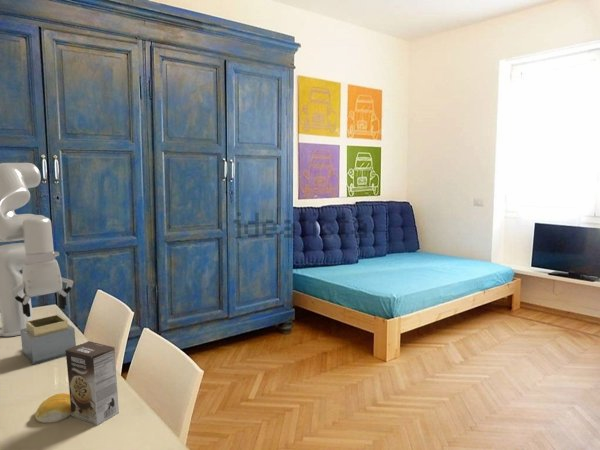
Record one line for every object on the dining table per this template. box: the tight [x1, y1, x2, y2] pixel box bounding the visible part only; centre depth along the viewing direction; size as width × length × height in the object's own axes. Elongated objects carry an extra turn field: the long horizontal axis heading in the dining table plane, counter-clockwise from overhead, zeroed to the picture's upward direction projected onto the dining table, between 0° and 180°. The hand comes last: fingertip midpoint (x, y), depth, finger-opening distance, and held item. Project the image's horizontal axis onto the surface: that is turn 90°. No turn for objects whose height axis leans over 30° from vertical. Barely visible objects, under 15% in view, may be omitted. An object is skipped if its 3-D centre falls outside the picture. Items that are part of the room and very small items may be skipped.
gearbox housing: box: [20, 314, 77, 366], centre depth 142 cm, size 16×12×10 cm
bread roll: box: [34, 392, 72, 424], centre depth 105 cm, size 8×9×4 cm
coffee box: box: [65, 340, 120, 426], centre depth 103 cm, size 9×6×16 cm
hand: (45, 312), depth 139 cm, fingers open, 9 cm apart
